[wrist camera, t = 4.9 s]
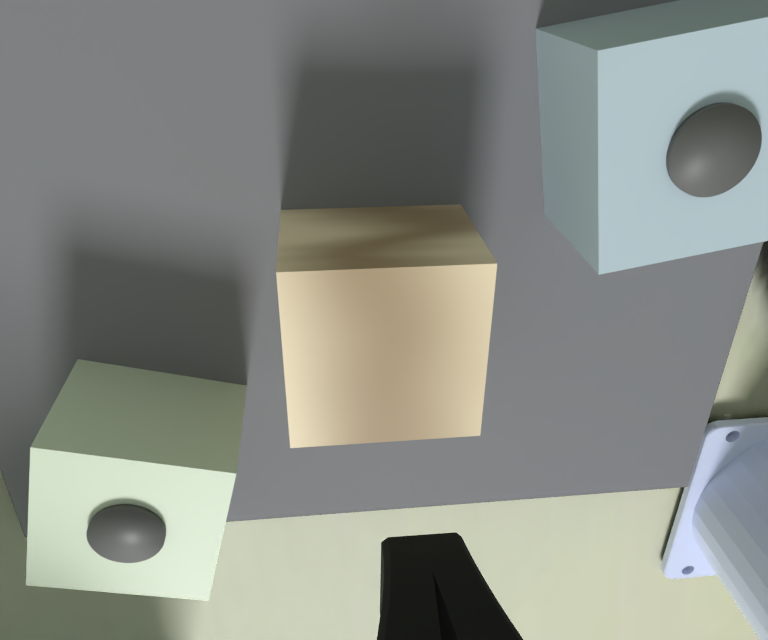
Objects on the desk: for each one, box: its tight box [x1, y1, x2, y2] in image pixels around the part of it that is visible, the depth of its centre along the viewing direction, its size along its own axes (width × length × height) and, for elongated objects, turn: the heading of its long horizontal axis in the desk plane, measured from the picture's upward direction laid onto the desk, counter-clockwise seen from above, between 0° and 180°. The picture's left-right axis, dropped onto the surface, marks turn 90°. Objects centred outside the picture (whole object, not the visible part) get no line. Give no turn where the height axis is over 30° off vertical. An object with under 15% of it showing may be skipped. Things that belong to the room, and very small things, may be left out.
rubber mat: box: [0, 0, 763, 537], centre depth 20 cm, size 24×18×1 cm
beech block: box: [276, 204, 497, 448], centre depth 18 cm, size 5×5×4 cm
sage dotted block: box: [26, 359, 247, 601], centre depth 20 cm, size 5×5×4 cm
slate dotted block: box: [536, 0, 768, 275], centre depth 16 cm, size 5×5×4 cm
